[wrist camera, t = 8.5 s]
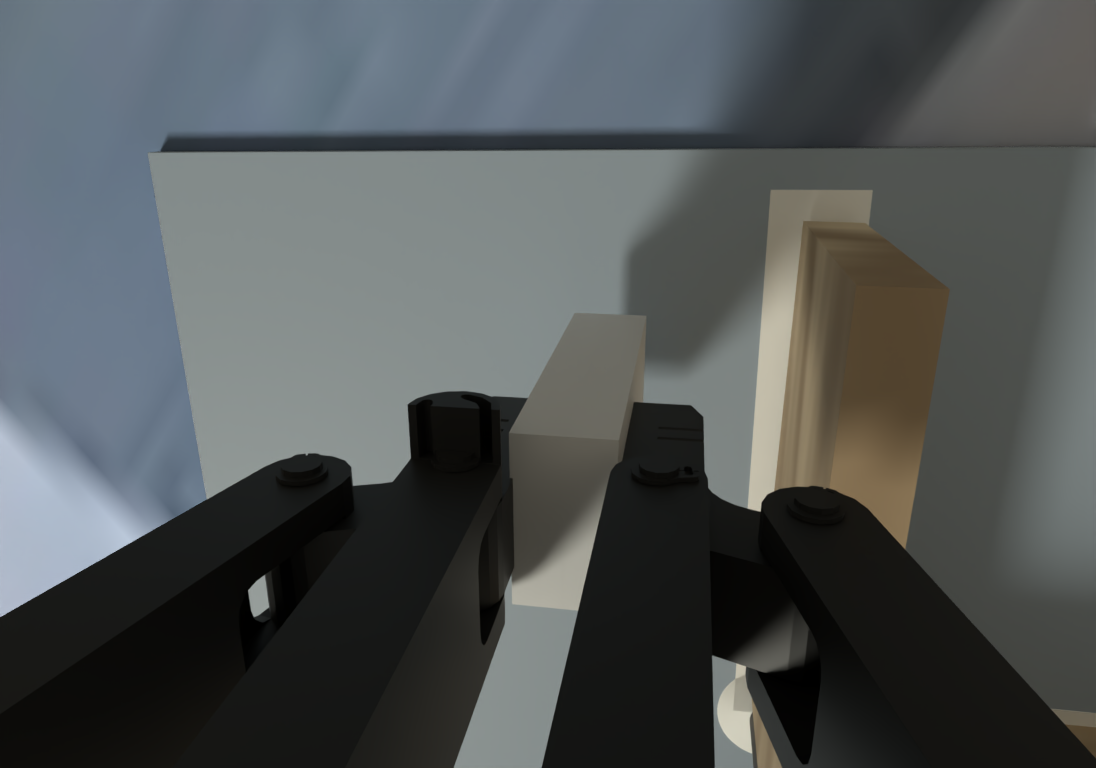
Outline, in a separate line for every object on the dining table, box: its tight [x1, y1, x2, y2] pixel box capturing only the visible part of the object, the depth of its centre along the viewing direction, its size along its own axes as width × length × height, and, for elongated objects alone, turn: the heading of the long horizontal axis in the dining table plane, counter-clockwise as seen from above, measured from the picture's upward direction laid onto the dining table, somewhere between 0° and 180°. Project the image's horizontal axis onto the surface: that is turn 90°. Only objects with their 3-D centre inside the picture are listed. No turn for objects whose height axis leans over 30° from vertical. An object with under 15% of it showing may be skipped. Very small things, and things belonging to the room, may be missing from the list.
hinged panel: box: [750, 221, 950, 768], centre depth 16 cm, size 1×13×7 cm, turn 0°
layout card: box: [148, 146, 1096, 768], centre depth 20 cm, size 22×31×1 cm
